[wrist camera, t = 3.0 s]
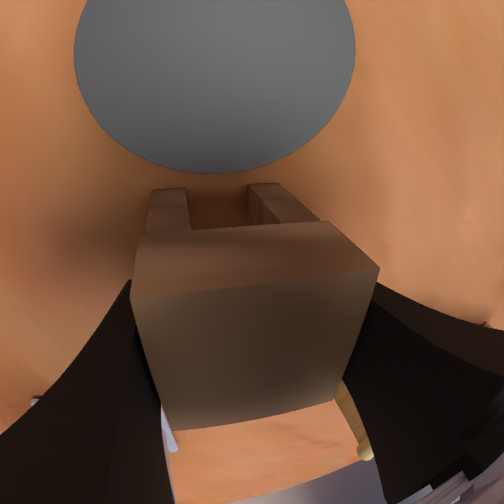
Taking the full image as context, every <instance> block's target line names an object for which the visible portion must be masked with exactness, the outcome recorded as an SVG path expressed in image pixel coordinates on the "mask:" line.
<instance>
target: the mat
mask: <svg viewBox="0 0 504 504" xmlns="http://www.w3.org/2000/svg"><path fill="white" fill-rule="evenodd" d="M354 62H355V36H354V30H353V24H352V20H351V17H350V14H349V11H348V8H347V6H346V4H345V2H344V0H88V1H87V3H86V5H85V7H84V10H83V12H82V14H81V17H80V20H79V24H78V27H77V30H76V37H75V44H74V66H75V72H76V77H77V82H78V85H79V88H80V91H81V94H82V96H83V99H84V101H85V103H86V104H87V106H88V108H89V110H90V112H91V114H92V115H93V116H94V118H95V119H96V120H97V121H98V123H99V124H100V125H101V127H102V128H103V129H104V130H105V131H106V132H107V133H108V134H109V135H110V136H111V137H112V138H113V139H114V140H115V141H117V142H118V143H120V144H121V145H122V146H124V147H125V148H126V149H128V150H129V151H131V152H132V153H134V154H136V155H138V156H140V157H142V158H144V159H145V160H148V161H150V162H153V163H155V164H158V165H161V166H163V167H167V168H171V169H175V170H179V171H183V172H191V173H199V174H224V173H234V172H241V171H245V170H250V169H254V168H258V167H261V166H264V165H267V164H270V163H272V162H275V161H277V160H279V159H281V158H283V157H285V156H287V155H289V154H291V153H292V152H294V151H295V150H297V149H299V148H300V147H302V146H303V145H305V144H306V143H307V142H308V141H309V140H311V139H312V138H313V137H314V136H316V135H317V134H318V133H319V132H320V131H321V130H322V128H323V127H324V126H325V125H326V124H327V123H328V122H329V121H330V119H331V118H332V117H333V115H334V114H335V112H336V111H337V110H338V108H339V106H340V104H341V102H342V101H343V99H344V97H345V94H346V92H347V89H348V87H349V84H350V81H351V77H352V73H353V69H354Z"/></svg>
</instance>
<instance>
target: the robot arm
mask: <svg viewBox="0 0 504 504" xmlns="http://www.w3.org/2000/svg"><path fill="white" fill-rule="evenodd" d="M131 284H132V279H129V280H128V281H127V283H126V284H125V286H124V287H123V289H122V290H121V292H120V294H119V295H118V297H117V298H116V300H115V302H114V303H113V305H112V306H111V308H110V309H109V311H108V312H107V314H106V315H105V317H104V319H103V320H102V322H101V323H100V325H99V326H98V328H97V329H96V331H95V332H94V333H93V335H92V336H91V337H90V339H89V340H88V342H87V343H86V344H85V346H84V347H83V349H82V350H81V351H80V353H79V354H78V355H77V357H76V358H75V359H74V361H73V362H72V363H71V364H70V366H69V367H68V368H67V369H66V370H65V372H64V373H63V374H62V375H61V376H60V378H59V379H58V380H57V381H56V382H55V383H54V384H53V385H52V386H51V387H50V388H49V389H48V390H47V391H46V392H45V394H44V395H43V396H42V397H41V398H40V399H32V400H31V406H32V407H31V408H30V409H29V410H28V411H27V412H26V413H25V414H24V415H23V416H21V417H20V418H19V419H18V420H17V421H16V422H15V423H14V424H13V425H11V426H10V427H9V428H8V429H7V430H6V431H5V432H3V433H2V434H1V435H0V504H176V499H175V494H174V488H173V482H172V475H171V469H170V462H169V454H168V453H169V452H176V451H178V450H179V448H178V445H177V442H176V440H175V438H174V435H173V433H172V430H171V428H170V425H169V423H168V420H167V418H166V415H165V413H164V410H163V408H162V405H161V400H160V398H159V395H158V392H157V389H156V386H155V383H154V380H153V377H152V374H151V371H150V368H149V365H148V362H147V359H146V356H145V352H144V349H143V346H142V342H141V339H140V335H139V332H138V328H137V325H136V321H135V317H134V313H133V309H132V305H131V301H130V291H131ZM342 381H343V382H344V384H345V386H346V387H347V389H348V391H349V393H350V395H351V397H352V399H353V402H354V404H355V406H356V409H357V411H358V413H359V416H360V418H361V421H362V423H363V426H364V429H365V431H366V434H367V437H368V439H369V442H370V445H371V448H372V451H373V454H374V458H375V461H376V464H377V468H378V472H379V476H380V480H381V484H382V488H383V493H384V498H385V500H386V502H387V504H397V503H398V502H401V501H402V500H404V499H406V498H407V497H409V496H411V495H413V494H414V493H416V492H418V491H419V490H421V489H423V488H424V487H425V486H427V485H429V484H430V485H431V487H432V489H433V491H432V492H430V493H429V494H427V495H426V496H424V497H423V498H421V499H419V500H418V501H416V502H415V503H413V504H450V503H451V502H452V501H454V500H455V499H456V498H457V497H459V496H460V500H459V501H458V502H455V503H454V504H504V331H503V330H498V329H493V328H488V327H484V326H481V325H477V324H473V323H470V322H467V321H464V320H460V319H457V318H454V317H452V316H449V315H446V314H444V313H441V312H439V311H436V310H434V309H431V308H429V307H426V306H424V305H422V304H420V303H417V302H415V301H413V300H411V299H409V298H407V297H405V296H403V295H401V294H399V293H397V292H395V291H393V290H391V289H389V288H387V287H386V286H384V285H382V284H380V283H378V282H376V284H375V287H374V291H373V294H372V297H371V300H370V303H369V306H368V309H367V312H366V315H365V318H364V321H363V324H362V327H361V330H360V333H359V335H358V338H357V341H356V344H355V346H354V349H353V351H352V354H351V357H350V359H349V362H348V364H347V367H346V369H345V372H344V374H343V377H342Z"/></svg>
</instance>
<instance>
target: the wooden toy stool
mask: <svg viewBox="0 0 504 504" xmlns="http://www.w3.org/2000/svg"><path fill="white" fill-rule="evenodd" d="M247 214H248V215H249V217H250V218H251V220H252V221H253V223H254V226H240V227H226V228H213V229H201V230H191V225H190V218H189V212H188V206H187V199H186V193H185V188H174V189H161V190H153V191H152V196H151V201H150V206H149V212H148V218H147V223H146V229H145V234H144V235H140V236H139V241H138V247H137V252H136V258H135V264H134V270H133V277H132V284H131V291H130V301H131V305H132V309H133V313H134V317H135V321H136V325H137V328H138V332H139V335H140V339H141V342H142V346H143V349H144V352H145V356H146V359H147V362H148V365H149V368H150V371H151V374H152V377H153V380H154V383H155V386H156V389H157V392H158V395H159V398H160V400H161V403H162V406H163V408H164V411H165V414H166V416H167V419H168V421H169V424H170V426H171V429H172V431H178V430H188V429H197V428H206V427H213V426H220V425H227V424H233V423H239V422H244V421H250V420H255V419H260V418H265V417H270V416H274V415H279V414H283V413H287V412H291V411H295V410H299V409H303V408H307V407H311V406H314V405H318V404H321V403H325V402H328V401H331V400H333V397H334V395H335V393H336V391H337V388H338V386H339V384H340V381H341V379H342V377H343V374H344V372H345V369H346V367H347V364H348V362H349V359H350V357H351V354H352V351H353V349H354V346H355V344H356V341H357V338H358V335H359V333H360V330H361V327H362V324H363V321H364V318H365V315H366V312H367V309H368V306H369V303H370V300H371V297H372V294H373V291H374V287H375V284H376V281H377V277H378V274H379V270H380V267H379V266H378V265H377V264H376V263H375V262H374V261H372V260H371V259H370V258H369V257H368V256H367V255H366V254H365V253H364V252H363V251H362V250H361V249H360V248H358V247H357V246H356V245H355V244H354V243H353V242H352V241H351V240H350V239H348V238H347V237H346V236H345V235H344V234H343V233H342V232H341V231H340V230H338V229H337V228H336V227H335V226H334V225H333V224H332V223H330V222H329V221H321V220H320V219H318V218H317V217H316V216H315V215H314V214H313V213H312V212H311V211H310V210H308V209H307V208H306V207H305V206H304V205H303V204H302V203H300V202H299V201H298V200H297V199H296V198H295V197H294V196H292V195H291V194H290V193H289V192H288V191H287V190H285V189H284V188H283V187H282V186H281V185H280V184H278V183H272V184H248V208H247Z"/></svg>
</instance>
